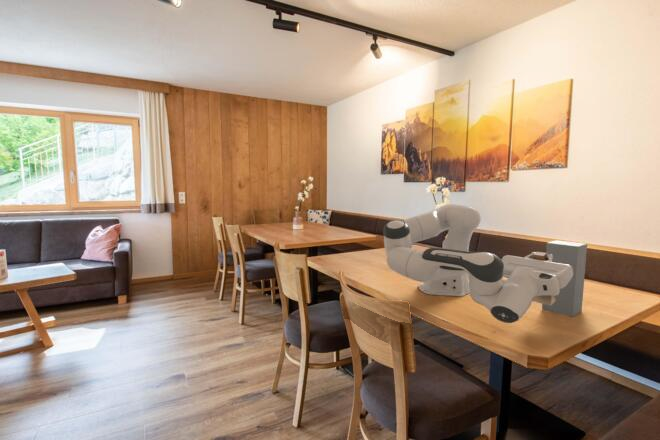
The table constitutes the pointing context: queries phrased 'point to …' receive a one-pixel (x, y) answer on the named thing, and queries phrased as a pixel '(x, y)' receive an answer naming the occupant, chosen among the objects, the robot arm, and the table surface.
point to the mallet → (544, 298)
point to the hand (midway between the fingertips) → (542, 254)
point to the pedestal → (573, 291)
